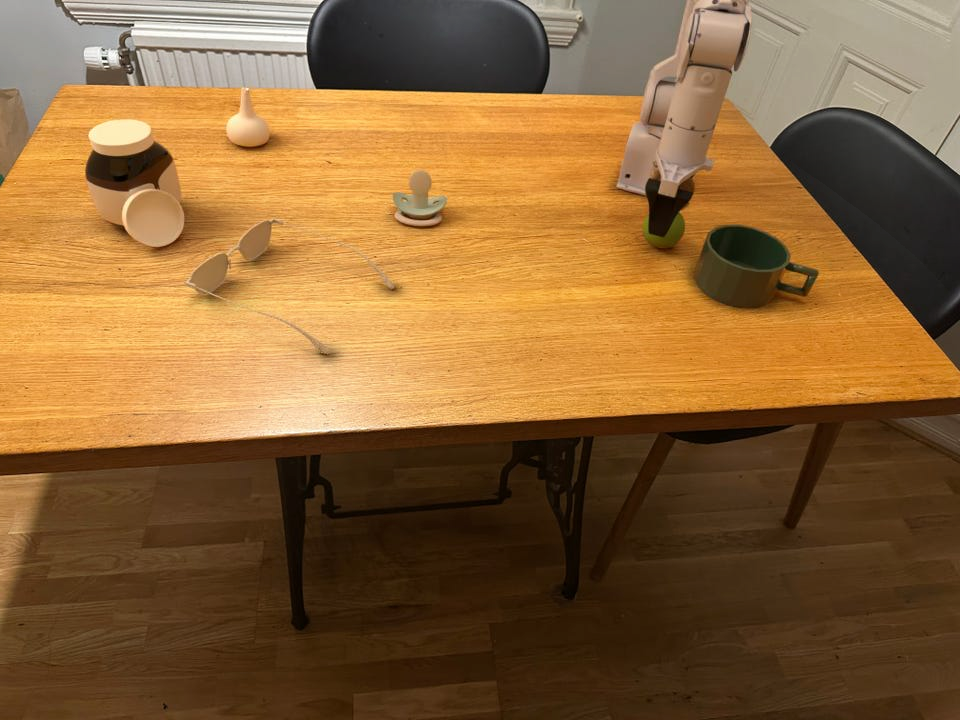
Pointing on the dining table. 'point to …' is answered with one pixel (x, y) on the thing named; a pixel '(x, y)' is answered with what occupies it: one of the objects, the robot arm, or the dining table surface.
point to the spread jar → (134, 182)
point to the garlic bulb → (247, 125)
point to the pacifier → (419, 202)
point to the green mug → (747, 267)
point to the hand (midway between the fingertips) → (662, 220)
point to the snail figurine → (678, 223)
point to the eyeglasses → (250, 248)
